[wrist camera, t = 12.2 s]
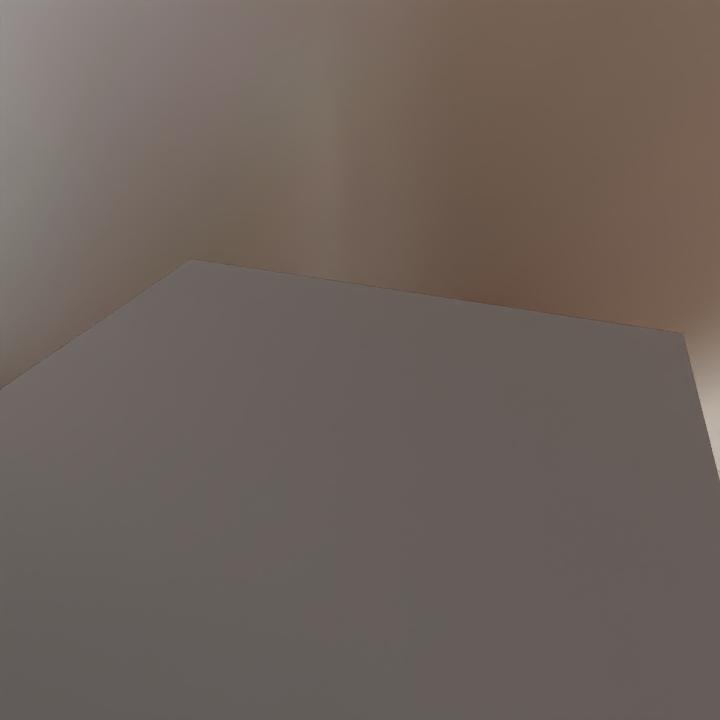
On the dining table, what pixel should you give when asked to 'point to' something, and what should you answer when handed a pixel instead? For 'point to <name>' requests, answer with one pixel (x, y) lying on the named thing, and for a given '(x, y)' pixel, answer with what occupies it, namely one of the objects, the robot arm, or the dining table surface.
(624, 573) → the grey block
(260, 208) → the dining table surface
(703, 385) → the dining table surface
